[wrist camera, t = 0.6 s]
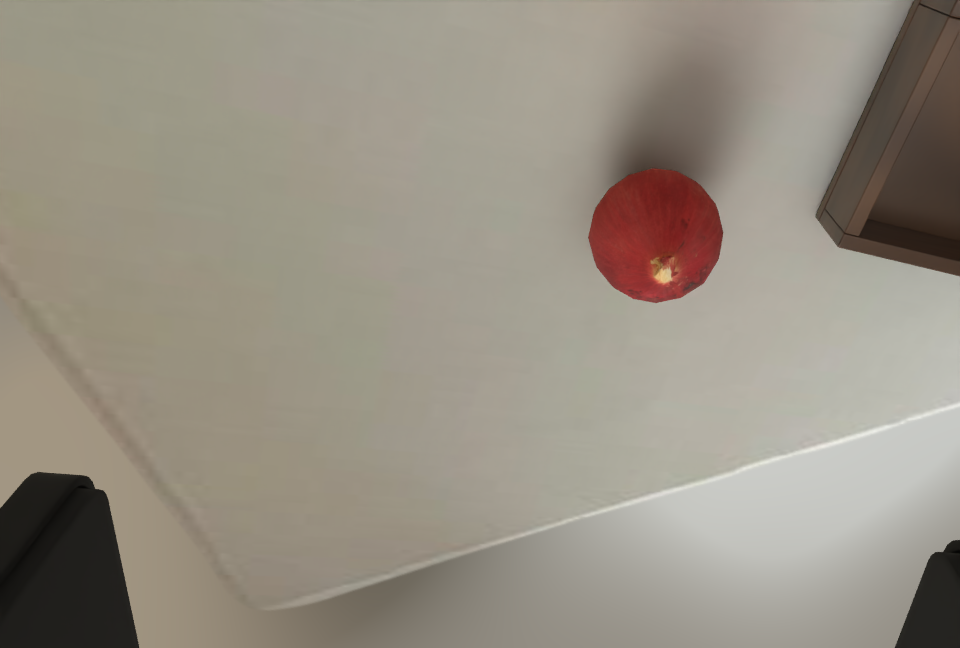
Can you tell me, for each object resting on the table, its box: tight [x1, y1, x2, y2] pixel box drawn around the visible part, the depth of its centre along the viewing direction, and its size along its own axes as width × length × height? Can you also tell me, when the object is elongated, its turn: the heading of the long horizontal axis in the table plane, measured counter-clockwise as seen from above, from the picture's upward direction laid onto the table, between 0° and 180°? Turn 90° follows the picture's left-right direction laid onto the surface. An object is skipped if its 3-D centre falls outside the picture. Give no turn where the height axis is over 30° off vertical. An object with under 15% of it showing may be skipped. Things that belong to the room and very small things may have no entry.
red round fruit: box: [588, 168, 723, 303], centre depth 38 cm, size 6×6×8 cm
